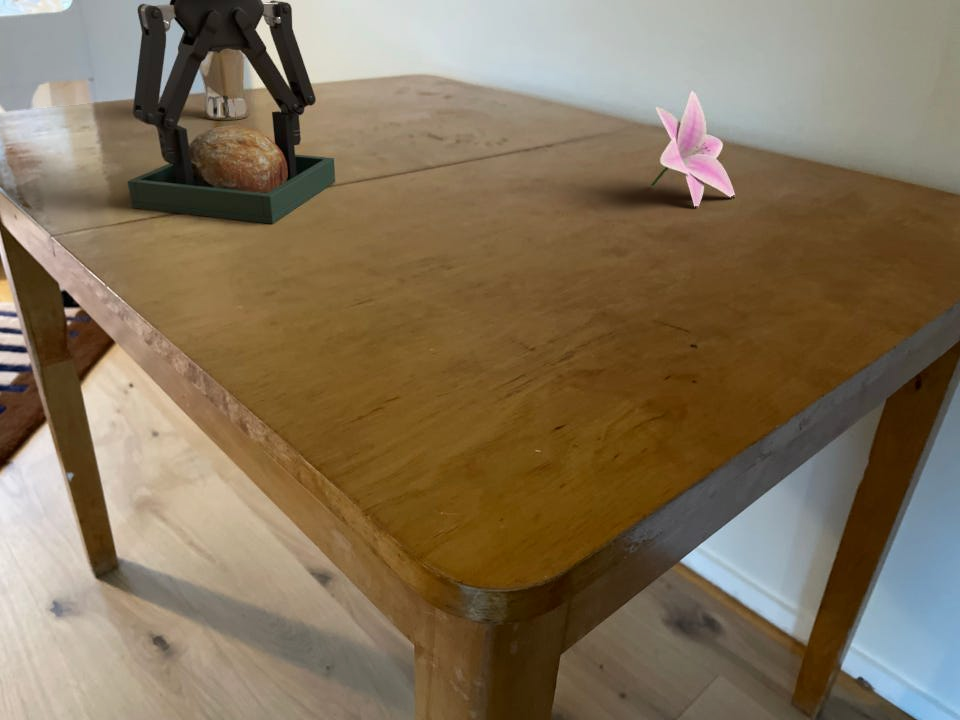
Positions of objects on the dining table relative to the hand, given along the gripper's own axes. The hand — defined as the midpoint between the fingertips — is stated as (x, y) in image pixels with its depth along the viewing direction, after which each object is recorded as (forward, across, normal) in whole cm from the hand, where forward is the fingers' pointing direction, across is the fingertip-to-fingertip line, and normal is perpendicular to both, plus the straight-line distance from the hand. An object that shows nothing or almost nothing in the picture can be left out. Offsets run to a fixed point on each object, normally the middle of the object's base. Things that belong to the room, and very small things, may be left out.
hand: (239, 186), depth 79 cm
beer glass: (+1, +16, +35) cm, 39 cm away
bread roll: (0, 0, 0) cm, 0 cm away
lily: (+1, +38, -27) cm, 46 cm away
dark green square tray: (+1, 0, 0) cm, 1 cm away
